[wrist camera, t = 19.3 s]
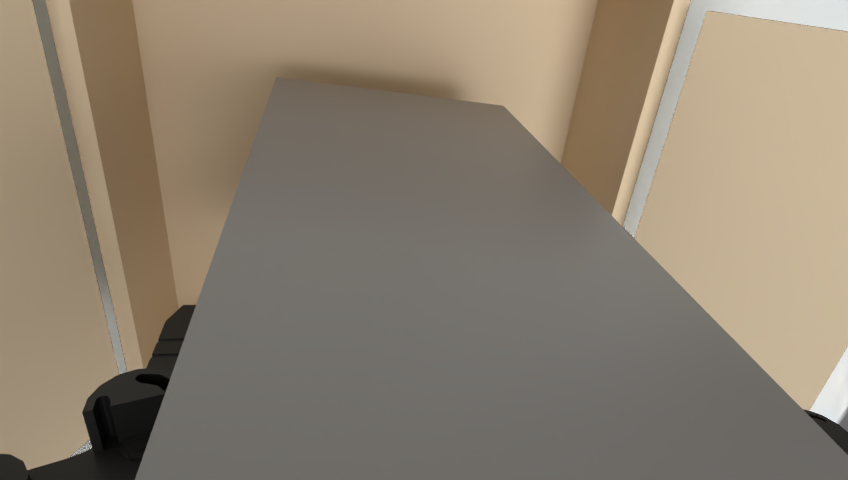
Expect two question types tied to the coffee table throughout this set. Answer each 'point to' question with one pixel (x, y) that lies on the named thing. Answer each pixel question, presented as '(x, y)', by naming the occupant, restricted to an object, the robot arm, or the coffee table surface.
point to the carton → (333, 64)
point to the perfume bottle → (451, 320)
